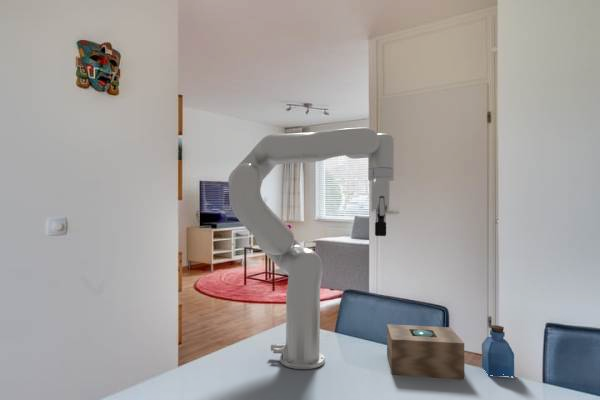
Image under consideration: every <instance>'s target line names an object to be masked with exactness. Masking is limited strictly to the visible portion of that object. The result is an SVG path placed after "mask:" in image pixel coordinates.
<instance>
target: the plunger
mask: <svg viewBox="0 0 600 400" xmlns="http://www.w3.org/2000/svg"><path fill="white" fill-rule="evenodd" d="M413 336H421V337H433V333H432V332H430V331H426V330H414V331H413Z"/></svg>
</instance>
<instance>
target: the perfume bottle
mask: <svg viewBox="0 0 600 400" xmlns="http://www.w3.org/2000/svg"><path fill="white" fill-rule="evenodd" d="M504 328H505V327H504V326H502V325H496V324H492V325H490V330H489V335H490V336H487V337H485V339H484V340H483V342H482V343H481V368H482V369H483V371H484V370H485V371H486V372H485V371H484V372H485V374H486V373H487V374H488V375H487V374H486V375H487V377H490V375H493V376H509V377H511V376H513V377H514V378H515V353H514V351H513V349H512V347H511V345H510V343H509V341H507V340H506V339H505V338H504V337H506V335H505V331H504V330H505V329H504ZM503 374H504V375H503Z"/></svg>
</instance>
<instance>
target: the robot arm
mask: <svg viewBox="0 0 600 400" xmlns="http://www.w3.org/2000/svg"><path fill="white" fill-rule="evenodd" d="M394 140H395V139H394V137H393V136H392V134H389V133H377V131H375V130H374V129H372V128H369V127H351V128H349V127H348V128H338V129H331V130H321V131H320V130H319V131H314V132H313V131H311V132H294V133H293V132H292V133H290V132H289V133H288V132H287V133H273V134H268V135H265V136H264V137H263V138H261V139H260V141H258V143H257V144H256V145H255V146H254V147H253V149H252V150H251V151H250V152H249V153H248V155H247V156H245V157H244V158H243V159H242V161H241V162H239V164H238V165H237V166H236V167H234V169H233V170H232V171H231V173H230V174H229V176H228V180H227V181H228V186H229V191H228V196H229V197H228V199H229V204H230V207H231V209H232V212H233V214H234V216H235V217H236V219H238V221H239V222H240V223H241V224H242V225H243V226H244V227H245V229H246V230H247V231H248V232H249V233H250V234H251V235H252V236H253V237H254V239H255V243H256V245H257V246H258V248H259V249H260V250H261V251H262V252H263V253H264V254H265V255H266V256H267V257H268V258H269V259H270V260H271V261H272V263H274V264H275V265H276V266H277V267H278V268H279V269H280V270H281V271H282V272H283V273H284V274H285V275H287V276H288V279H287V285H286V296H285V299H286V301H285V302H286V303H285V304H286V305H285V306H286V308H285V309H286V311H285V312H286V314H285V319H286V320H285V342H284V343H282V344H278V343H271V344H270V351H271V352H273V354H280V356H279V362H280V363H281V364H282V365H283V366H285V367H286V368H289V369H290V368H291V369H295V370H313V369H317V368H319V367H321V366H323V365H324V364H325V362H326V357H325V355H324V354H323V353H321V351H320V343H321V341H320V333H321V331H320V330H321V327H320V326H321V325H320V324H321V319H320V318H321V286H322V279H323V270H324V267H323V262H322V258H321V257H320V256H319V254H318V253H317V252H316V251H314V250H312V249H310V248H308V247H304V246H302V245H301V244H300V243H299V242H298V241H297V240H296V239H295V237H294V233H293V231H292V229H291V228H290V227H289V225H287V224H286V223H285V222H284V221H283V220H282V219H281V218H280V217H279V216H278V215H277V214H276V213H275V212H274V211H273V210H272V209H271V208H270V207H269V206H268V205H267V203H266V202H265V201H264V198H263V197H262V194H261V193H262V191H261V188H262V184H263V181H264V180H265V179H266V178H267V176H268V175H269V174H271V172H272V170H273V169H274V168H275V167H276V166H277V165H288V164H289V165H290V164H302V163H304V164H305V163H315V162H316V163H317V162H321V161H325V160H328V159H333V158H337V157H344V156H345V157H347V158H349V159H365V158H366V159H368V160H367V161H368V162H367V163H368V167H367V169H368V171H367V173H368V174H367V175H368V177H367V178H368V181H371V184H370V185H371V186H370V211H371V213H374V212H375V223H374V235H375V236H376V237H386V236H387V222H386V220H387V219H386V218H387V217H386V215H387V212H389V209H390V208H389V207H390V193H391V192H390V189H391V187H390V185H391V184H390V183H391V182H390V181H394V170H395V169H394V167H395V166H394V164H395V163H394V161H395V160H394V157H395V156H394V154H395V151H394V150H395V149H394V147H395V146H394V145H395V141H394Z"/></svg>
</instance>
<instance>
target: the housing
mask: <svg viewBox="0 0 600 400" xmlns="http://www.w3.org/2000/svg"><path fill="white" fill-rule="evenodd" d="M414 330H426V331H430V332H432V333H433V337H421V336H413V331H414ZM386 356H387V361H388V364H389V365H388V366H389V369H390V374H391V375H395V376H397V375H398V376H410V377H424V378H426V377H427V378H439V379H454V380H465V342H464V341H463V340H462V339H461V338H460V337H459V335H458V334H457V333H456V332H455V331H454V330H453V329H452V327H450V326H449V327H446V326H429V325H427V326H426V325H410V324H409V325H408V324H407V325H406V324H393V323H390V324H389V323H387V324H386Z"/></svg>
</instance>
